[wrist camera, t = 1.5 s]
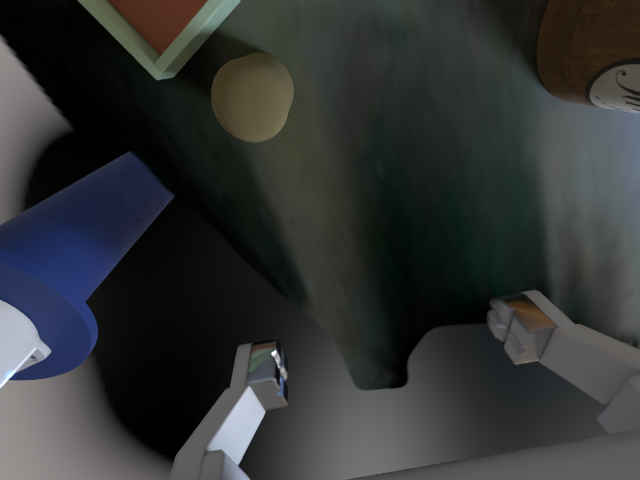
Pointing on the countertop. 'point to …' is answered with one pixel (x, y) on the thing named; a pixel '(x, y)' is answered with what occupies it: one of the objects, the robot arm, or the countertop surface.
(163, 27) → the compartment tray
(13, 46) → the countertop surface
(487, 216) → the countertop surface
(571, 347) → the robot arm
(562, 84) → the wooden container
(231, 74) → the cork
